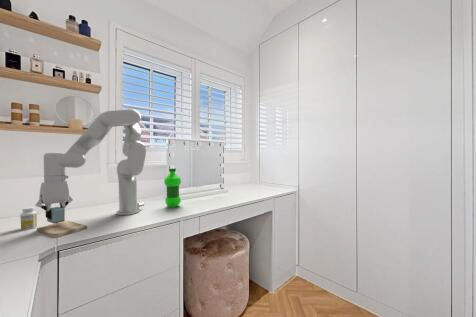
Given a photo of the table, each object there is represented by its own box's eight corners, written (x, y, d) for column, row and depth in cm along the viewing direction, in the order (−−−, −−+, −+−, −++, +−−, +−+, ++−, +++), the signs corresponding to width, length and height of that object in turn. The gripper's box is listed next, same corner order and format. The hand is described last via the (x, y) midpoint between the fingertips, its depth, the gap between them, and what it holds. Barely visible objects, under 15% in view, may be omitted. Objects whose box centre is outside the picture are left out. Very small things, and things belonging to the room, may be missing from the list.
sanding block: (47, 221, 99) (47, 208, 99) (57, 218, 102) (57, 206, 102) (54, 223, 96) (54, 210, 96) (64, 221, 99) (64, 208, 99)
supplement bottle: (29, 226, 103) (28, 206, 102) (40, 226, 102) (39, 206, 102) (17, 230, 97) (16, 209, 97) (28, 230, 97) (28, 209, 97)
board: (67, 222, 106) (67, 220, 106) (87, 228, 98) (87, 225, 98) (36, 230, 96) (36, 228, 96) (55, 237, 87) (55, 234, 87)
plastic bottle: (161, 208, 134) (160, 169, 133) (170, 204, 144) (169, 167, 143) (175, 208, 131) (174, 169, 131) (184, 204, 141) (183, 167, 141)
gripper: (71, 177, 108) (72, 212, 108) (27, 180, 93) (28, 221, 94) (79, 177, 105) (79, 214, 105) (34, 181, 90) (35, 223, 90)
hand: (55, 217), depth 99 cm, fingers closed on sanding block, 4 cm apart
